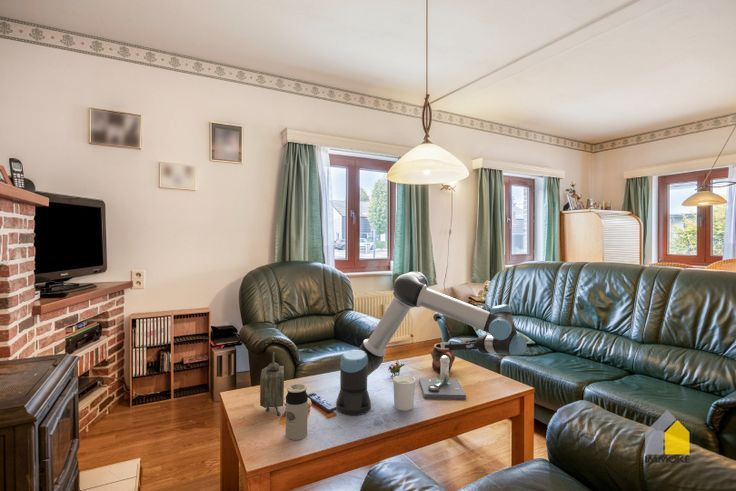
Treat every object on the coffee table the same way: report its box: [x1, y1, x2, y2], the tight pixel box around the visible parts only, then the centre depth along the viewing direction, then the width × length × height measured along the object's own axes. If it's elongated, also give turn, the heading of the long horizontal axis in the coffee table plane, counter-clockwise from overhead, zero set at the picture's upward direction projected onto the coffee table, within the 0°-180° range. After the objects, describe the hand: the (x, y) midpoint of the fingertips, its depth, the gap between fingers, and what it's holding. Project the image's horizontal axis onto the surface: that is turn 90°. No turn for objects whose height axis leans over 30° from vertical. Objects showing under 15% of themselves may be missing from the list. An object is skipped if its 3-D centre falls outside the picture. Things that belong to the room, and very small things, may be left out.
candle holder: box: [392, 374, 417, 411], centre depth 163 cm, size 10×10×12 cm
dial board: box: [418, 377, 467, 400], centre depth 181 cm, size 19×19×2 cm
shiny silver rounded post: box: [428, 355, 450, 391], centre depth 179 cm, size 15×5×14 cm, turn 138°
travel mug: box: [285, 383, 309, 441], centre depth 139 cm, size 8×8×18 cm
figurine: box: [387, 359, 406, 377], centre depth 198 cm, size 3×12×8 cm, turn 128°
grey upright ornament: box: [259, 351, 285, 417], centre depth 157 cm, size 14×9×25 cm, turn 12°
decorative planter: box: [430, 342, 456, 374], centre depth 206 cm, size 20×12×14 cm, turn 20°
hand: (451, 343), depth 173 cm, fingers open, 13 cm apart
